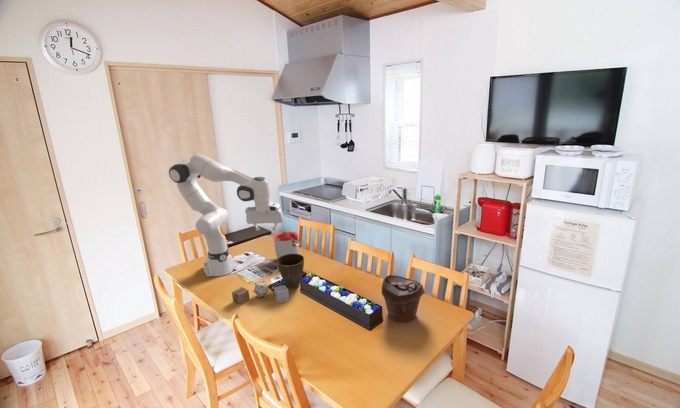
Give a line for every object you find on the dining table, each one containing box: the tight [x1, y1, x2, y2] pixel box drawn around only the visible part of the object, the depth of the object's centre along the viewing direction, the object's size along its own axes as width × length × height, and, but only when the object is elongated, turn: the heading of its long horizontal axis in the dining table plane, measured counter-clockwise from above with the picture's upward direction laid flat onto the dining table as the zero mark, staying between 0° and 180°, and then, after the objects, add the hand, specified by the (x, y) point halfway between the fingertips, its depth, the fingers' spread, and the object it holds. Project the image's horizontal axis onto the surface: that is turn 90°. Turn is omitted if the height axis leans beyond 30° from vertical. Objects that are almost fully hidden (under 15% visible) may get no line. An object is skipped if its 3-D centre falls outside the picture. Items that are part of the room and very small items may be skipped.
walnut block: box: [231, 286, 251, 306], centre depth 174 cm, size 6×6×6 cm
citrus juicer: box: [272, 231, 301, 259], centre depth 216 cm, size 16×17×20 cm
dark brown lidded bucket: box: [381, 274, 425, 323], centre depth 154 cm, size 18×20×18 cm
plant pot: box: [276, 253, 305, 289], centre depth 185 cm, size 15×15×16 cm
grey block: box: [273, 284, 290, 304], centre depth 174 cm, size 6×6×6 cm
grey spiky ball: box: [252, 280, 271, 300], centre depth 177 cm, size 9×8×10 cm
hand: (266, 230), depth 186 cm, fingers open, 8 cm apart
